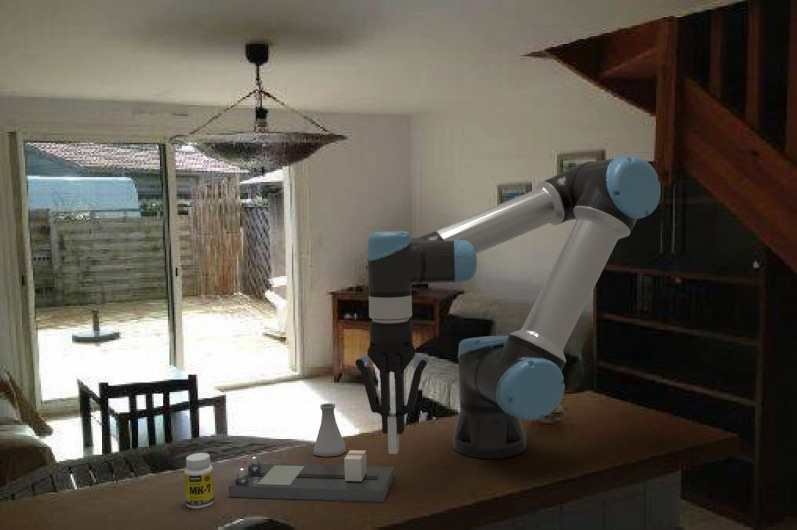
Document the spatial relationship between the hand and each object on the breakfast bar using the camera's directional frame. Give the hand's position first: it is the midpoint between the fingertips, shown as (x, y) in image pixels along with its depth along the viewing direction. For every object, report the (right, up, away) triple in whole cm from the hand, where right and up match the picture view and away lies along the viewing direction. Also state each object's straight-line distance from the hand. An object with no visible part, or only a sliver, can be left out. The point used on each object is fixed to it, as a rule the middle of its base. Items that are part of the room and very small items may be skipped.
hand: (393, 451), depth 122 cm
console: (-15, -7, +3) cm, 17 cm away
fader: (-7, -5, +2) cm, 9 cm away
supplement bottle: (-34, -9, -2) cm, 35 cm away
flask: (-14, -6, +22) cm, 26 cm away
